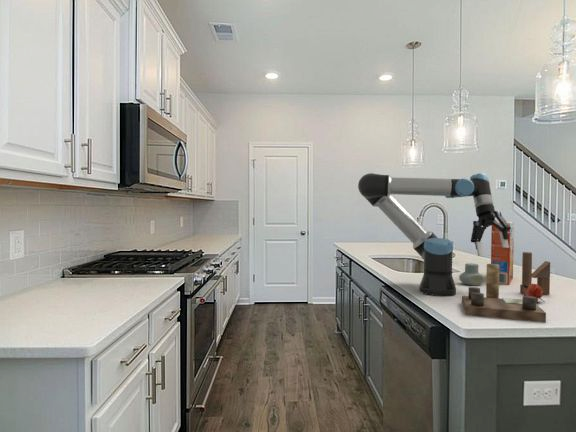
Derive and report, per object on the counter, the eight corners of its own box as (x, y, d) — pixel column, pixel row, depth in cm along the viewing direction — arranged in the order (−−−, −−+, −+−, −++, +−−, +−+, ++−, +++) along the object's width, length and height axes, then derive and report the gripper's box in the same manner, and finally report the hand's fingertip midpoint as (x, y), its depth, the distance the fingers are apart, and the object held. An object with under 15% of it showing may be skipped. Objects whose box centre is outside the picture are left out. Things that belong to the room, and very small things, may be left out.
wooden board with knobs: (465, 315, 138) (466, 295, 138) (461, 303, 155) (462, 285, 155) (545, 322, 130) (546, 300, 130) (532, 308, 147) (532, 290, 147)
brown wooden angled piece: (549, 294, 172) (550, 253, 172) (524, 294, 173) (524, 252, 172) (544, 292, 176) (545, 252, 175) (519, 292, 176) (520, 251, 176)
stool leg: (486, 303, 156) (487, 265, 156) (485, 300, 160) (485, 263, 160) (499, 304, 154) (500, 265, 154) (497, 301, 159) (498, 264, 158)
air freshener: (465, 286, 190) (466, 265, 189) (456, 283, 198) (456, 263, 198) (487, 285, 191) (487, 265, 191) (476, 282, 199) (477, 262, 199)
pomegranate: (536, 305, 163) (515, 288, 165) (550, 292, 160) (528, 276, 163) (540, 311, 156) (517, 294, 158) (554, 298, 154) (531, 281, 156)
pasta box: (509, 285, 193) (510, 223, 193) (490, 283, 198) (491, 222, 197) (512, 278, 212) (513, 221, 212) (495, 276, 217) (496, 221, 216)
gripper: (513, 196, 169) (524, 244, 161) (471, 217, 191) (478, 260, 183) (499, 194, 167) (509, 242, 159) (458, 215, 189) (465, 258, 181)
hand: (493, 252), depth 171 cm, fingers open, 13 cm apart
